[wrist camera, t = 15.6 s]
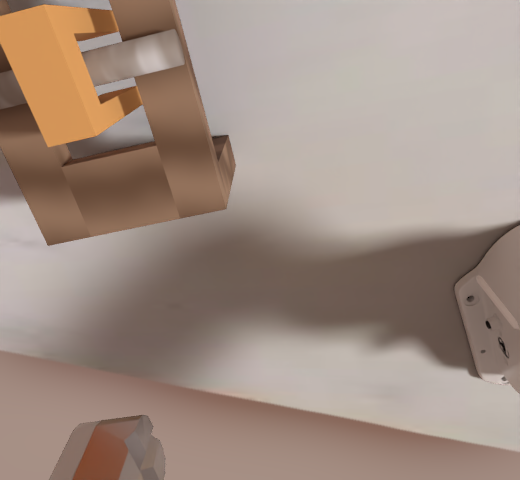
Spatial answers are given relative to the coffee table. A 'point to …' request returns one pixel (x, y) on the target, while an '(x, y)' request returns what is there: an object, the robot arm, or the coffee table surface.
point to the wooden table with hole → (131, 158)
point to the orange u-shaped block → (62, 70)
